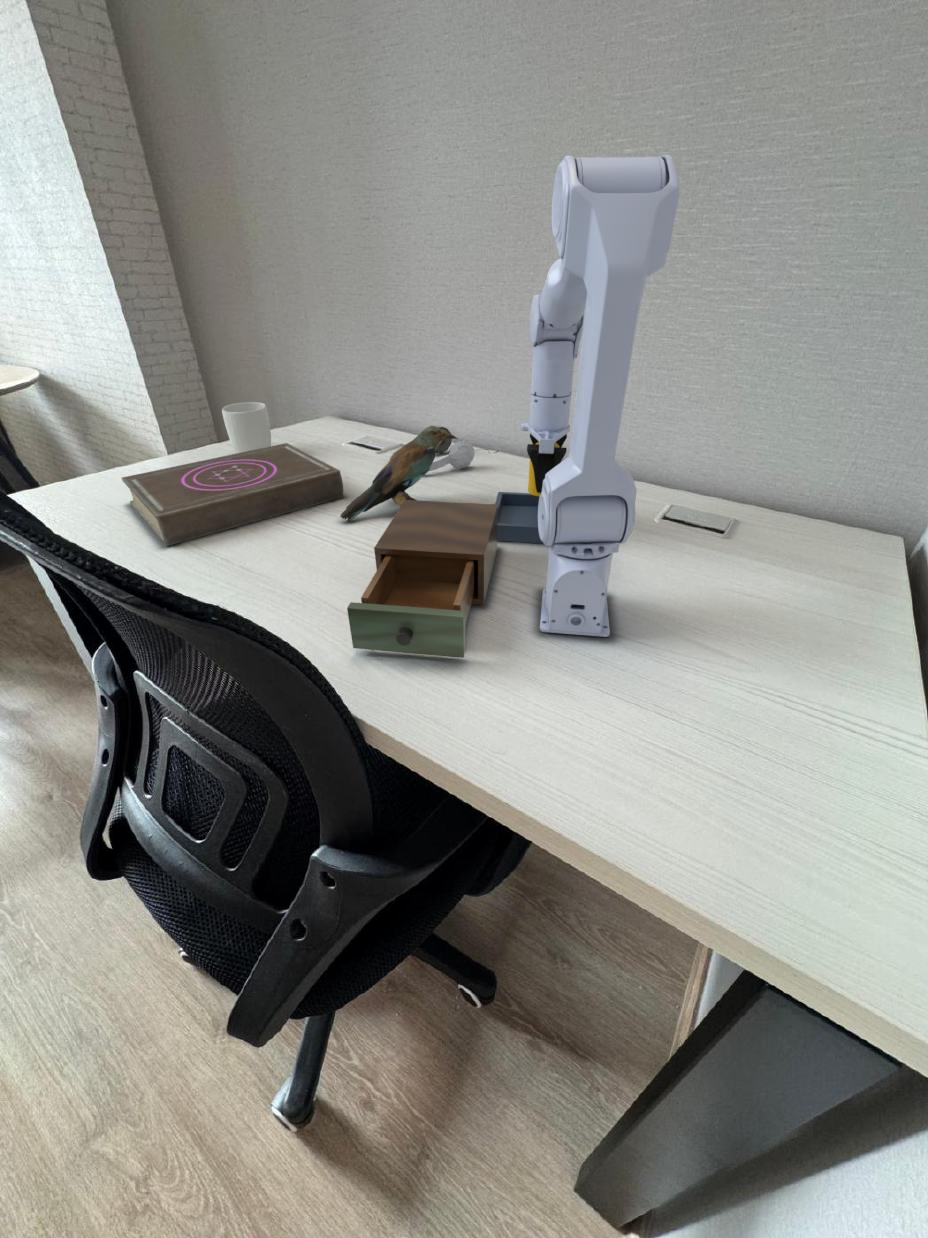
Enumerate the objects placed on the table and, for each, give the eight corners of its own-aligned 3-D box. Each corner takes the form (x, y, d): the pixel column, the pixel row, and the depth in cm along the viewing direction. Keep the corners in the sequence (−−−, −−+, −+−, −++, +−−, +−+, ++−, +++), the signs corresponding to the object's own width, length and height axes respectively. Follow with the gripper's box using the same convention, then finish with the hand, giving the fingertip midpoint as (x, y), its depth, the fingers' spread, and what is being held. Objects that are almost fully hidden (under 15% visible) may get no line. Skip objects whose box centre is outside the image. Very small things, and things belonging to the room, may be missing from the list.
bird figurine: (352, 530, 88) (403, 407, 83) (330, 510, 95) (375, 395, 90) (420, 552, 96) (469, 441, 92) (394, 533, 103) (439, 429, 99)
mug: (281, 455, 122) (272, 407, 116) (240, 464, 118) (228, 414, 112) (261, 442, 130) (251, 396, 125) (222, 449, 126) (210, 403, 121)
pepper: (558, 497, 85) (563, 437, 80) (526, 496, 86) (530, 436, 81) (559, 486, 89) (564, 428, 84) (528, 485, 90) (532, 427, 85)
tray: (592, 546, 84) (594, 530, 83) (488, 540, 86) (488, 524, 85) (589, 510, 95) (591, 495, 94) (498, 506, 97) (498, 491, 96)
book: (291, 467, 116) (286, 442, 113) (345, 497, 101) (341, 470, 98) (131, 504, 100) (121, 477, 97) (167, 547, 85) (156, 516, 82)
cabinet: (483, 605, 71) (484, 554, 67) (379, 597, 73) (373, 547, 69) (497, 549, 83) (498, 504, 80) (408, 544, 85) (404, 499, 81)
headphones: (467, 441, 125) (384, 468, 120) (463, 415, 122) (377, 442, 117) (504, 463, 112) (412, 495, 107) (501, 435, 109) (406, 467, 104)
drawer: (462, 665, 59) (461, 623, 56) (349, 654, 61) (343, 614, 58) (481, 589, 72) (481, 552, 69) (388, 582, 74) (384, 546, 71)
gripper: (526, 382, 86) (521, 468, 93) (518, 404, 74) (514, 502, 82) (572, 382, 85) (564, 470, 92) (573, 406, 73) (563, 504, 81)
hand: (544, 485), depth 87 cm, fingers closed on pepper, 5 cm apart
